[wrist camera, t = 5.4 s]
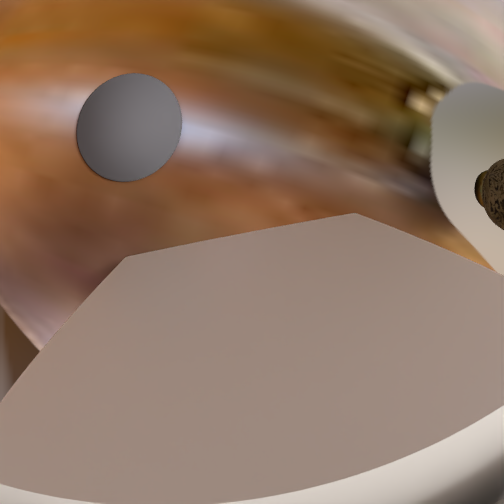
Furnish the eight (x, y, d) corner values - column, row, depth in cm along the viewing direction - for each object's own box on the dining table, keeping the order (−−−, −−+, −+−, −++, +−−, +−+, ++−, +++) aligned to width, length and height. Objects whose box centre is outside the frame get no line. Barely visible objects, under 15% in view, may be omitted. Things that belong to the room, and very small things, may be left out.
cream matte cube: (362, 391, 13) (457, 555, 4) (185, 427, 12) (177, 619, 4) (355, 212, 10) (598, 327, 2) (125, 256, 10) (-45, 468, 2)
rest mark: (203, 140, 22) (203, 140, 21) (111, 202, 22) (111, 203, 22) (148, 54, 19) (147, 53, 19) (61, 117, 20) (60, 117, 20)
